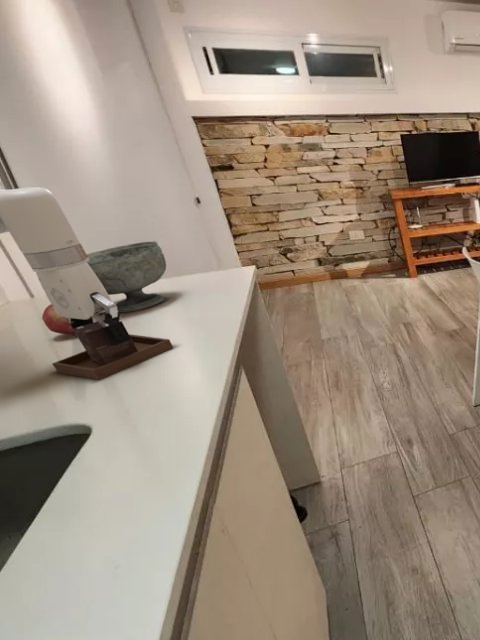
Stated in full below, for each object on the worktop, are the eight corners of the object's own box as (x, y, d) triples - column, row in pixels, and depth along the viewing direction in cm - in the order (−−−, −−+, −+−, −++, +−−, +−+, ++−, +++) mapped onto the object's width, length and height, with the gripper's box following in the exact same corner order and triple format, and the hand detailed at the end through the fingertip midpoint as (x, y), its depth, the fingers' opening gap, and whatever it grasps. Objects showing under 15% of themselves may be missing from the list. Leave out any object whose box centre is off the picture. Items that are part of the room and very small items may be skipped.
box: (140, 353, 98) (122, 321, 94) (102, 367, 93) (82, 333, 90) (128, 348, 100) (111, 316, 97) (91, 361, 96) (71, 328, 93)
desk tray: (99, 379, 89) (93, 370, 88) (57, 372, 93) (51, 363, 92) (173, 347, 100) (169, 339, 99) (133, 342, 104) (129, 334, 104)
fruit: (66, 342, 107) (46, 309, 103) (46, 339, 109) (25, 307, 106) (107, 327, 114) (89, 296, 110) (86, 325, 116) (68, 294, 112)
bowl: (115, 299, 133) (86, 247, 126) (195, 287, 138) (171, 237, 131) (69, 326, 116) (32, 268, 109) (161, 312, 121) (132, 255, 114)
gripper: (3, 262, 87) (56, 345, 94) (60, 266, 82) (111, 353, 89) (56, 250, 93) (101, 328, 101) (111, 253, 88) (155, 336, 95)
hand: (106, 340), depth 95 cm, fingers open, 9 cm apart
